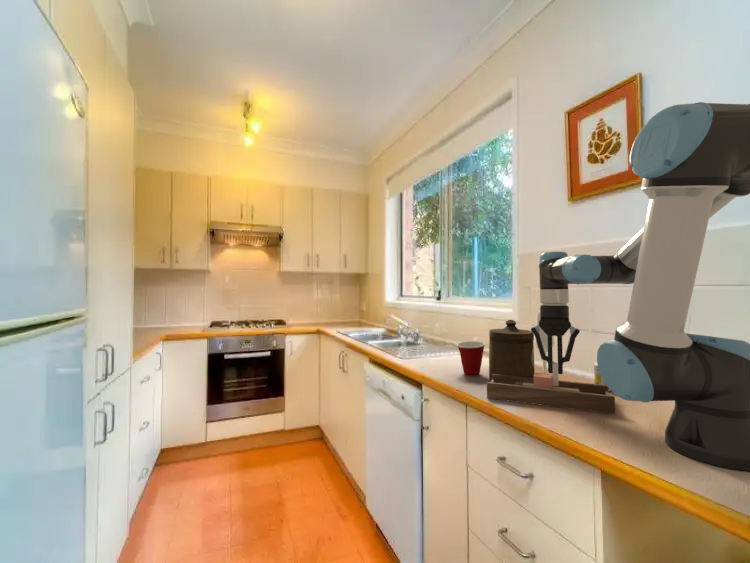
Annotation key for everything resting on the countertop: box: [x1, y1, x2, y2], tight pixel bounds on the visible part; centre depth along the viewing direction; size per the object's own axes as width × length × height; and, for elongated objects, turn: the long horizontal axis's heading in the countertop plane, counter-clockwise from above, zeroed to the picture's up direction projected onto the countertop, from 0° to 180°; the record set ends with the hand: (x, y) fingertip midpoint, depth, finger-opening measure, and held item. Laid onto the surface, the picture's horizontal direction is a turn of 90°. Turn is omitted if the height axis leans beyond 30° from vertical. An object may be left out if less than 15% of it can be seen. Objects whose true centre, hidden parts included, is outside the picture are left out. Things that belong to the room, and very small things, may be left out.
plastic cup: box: [456, 340, 486, 377], centre depth 133 cm, size 11×11×12 cm
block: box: [534, 372, 553, 389], centre depth 102 cm, size 5×5×4 cm
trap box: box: [486, 374, 616, 415], centre depth 102 cm, size 12×32×4 cm, turn 63°
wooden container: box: [488, 319, 535, 382], centre depth 121 cm, size 15×15×22 cm
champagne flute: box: [533, 311, 555, 374], centre depth 126 cm, size 7×7×24 cm
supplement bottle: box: [593, 362, 612, 392], centre depth 112 cm, size 6×6×10 cm
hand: (555, 384), depth 101 cm, fingers closed
